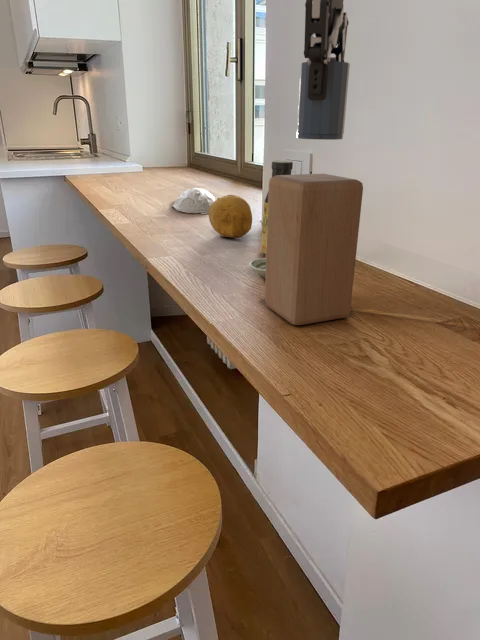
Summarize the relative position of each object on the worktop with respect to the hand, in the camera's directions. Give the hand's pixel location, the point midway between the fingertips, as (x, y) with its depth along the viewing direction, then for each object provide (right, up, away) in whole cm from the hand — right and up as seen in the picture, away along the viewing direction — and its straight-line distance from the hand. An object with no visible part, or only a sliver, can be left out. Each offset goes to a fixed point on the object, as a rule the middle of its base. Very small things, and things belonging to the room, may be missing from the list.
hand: (322, 100), depth 65 cm
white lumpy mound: (-25, +8, +97) cm, 101 cm away
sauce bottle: (-3, -16, +39) cm, 42 cm away
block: (-1, -28, +11) cm, 30 cm away
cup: (0, -4, +2) cm, 5 cm away
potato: (-13, -8, +59) cm, 61 cm away
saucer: (-4, -21, +28) cm, 35 cm away
